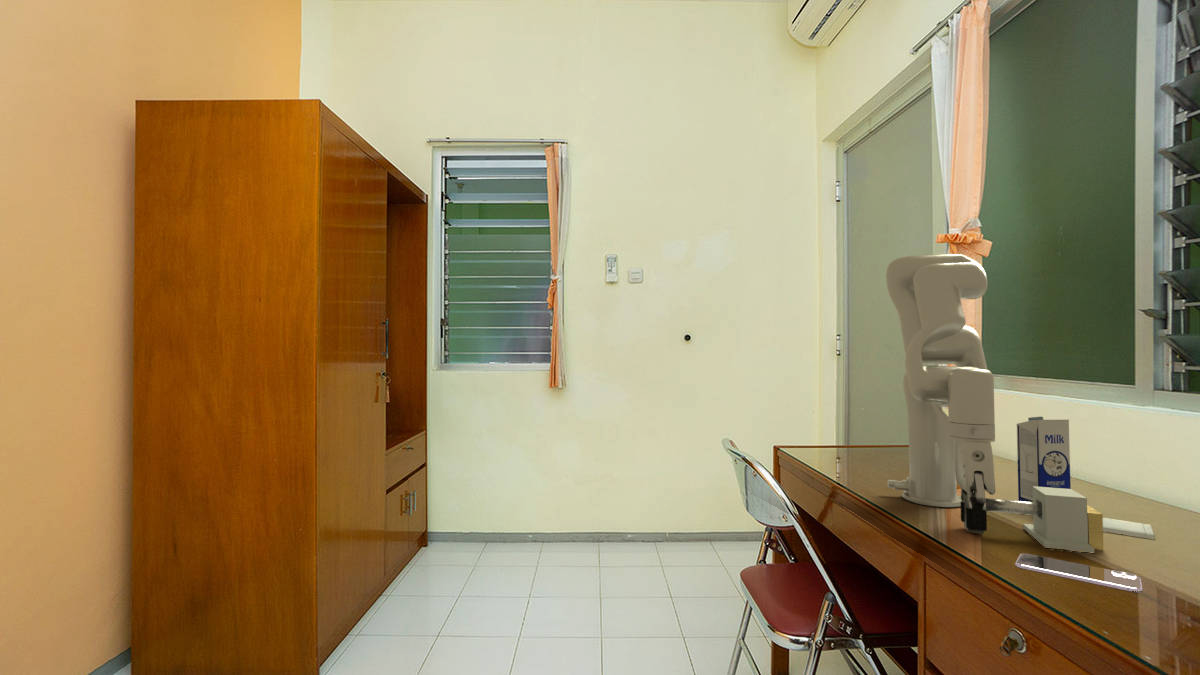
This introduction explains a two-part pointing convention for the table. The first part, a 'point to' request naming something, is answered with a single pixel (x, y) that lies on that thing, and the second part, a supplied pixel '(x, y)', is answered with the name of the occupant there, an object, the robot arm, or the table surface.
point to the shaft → (1005, 508)
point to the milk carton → (1042, 455)
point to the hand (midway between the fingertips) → (973, 525)
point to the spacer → (1095, 528)
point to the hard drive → (1128, 528)
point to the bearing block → (1060, 519)
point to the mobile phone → (1080, 572)
